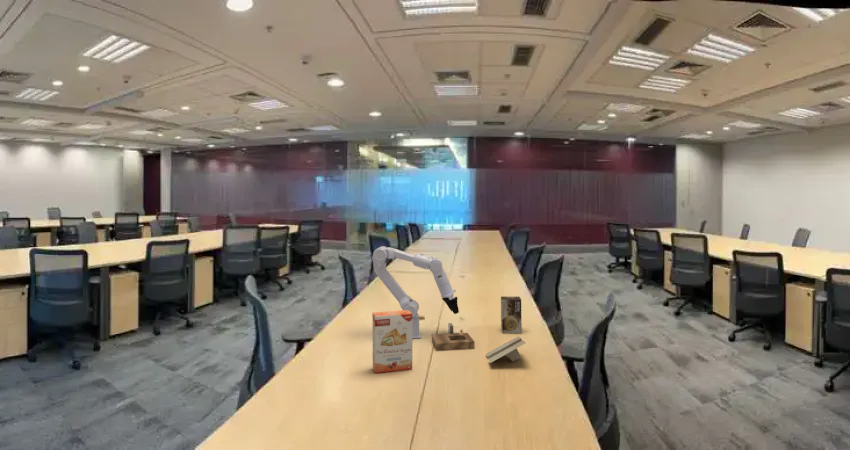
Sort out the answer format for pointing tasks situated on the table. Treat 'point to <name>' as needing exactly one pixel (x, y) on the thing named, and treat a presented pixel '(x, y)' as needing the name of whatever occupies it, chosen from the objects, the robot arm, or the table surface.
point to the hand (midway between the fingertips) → (455, 311)
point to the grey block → (450, 328)
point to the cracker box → (392, 341)
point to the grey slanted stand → (506, 350)
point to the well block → (452, 341)
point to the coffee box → (511, 315)
